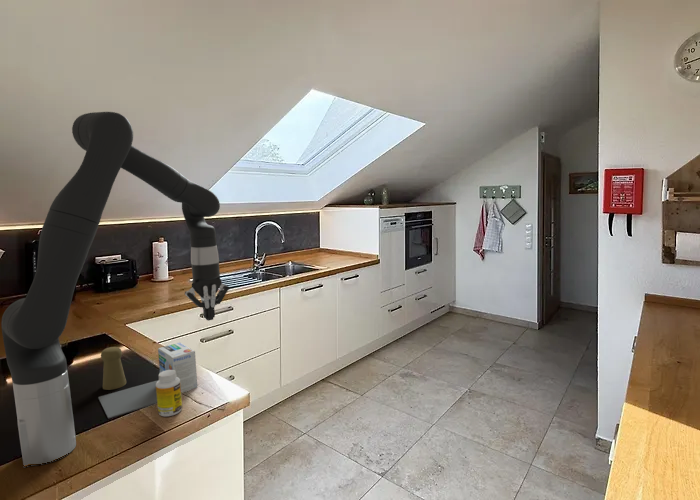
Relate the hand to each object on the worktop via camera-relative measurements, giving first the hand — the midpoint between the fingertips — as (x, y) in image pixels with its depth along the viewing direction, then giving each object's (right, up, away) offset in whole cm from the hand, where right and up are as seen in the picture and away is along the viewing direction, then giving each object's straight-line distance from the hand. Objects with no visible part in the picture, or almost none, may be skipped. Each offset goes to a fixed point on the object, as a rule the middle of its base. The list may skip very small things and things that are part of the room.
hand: (209, 319), depth 123 cm
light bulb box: (-7, -18, -4) cm, 20 cm away
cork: (-26, -19, -3) cm, 32 cm away
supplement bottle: (-4, -20, -19) cm, 28 cm away
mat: (-16, -19, -11) cm, 28 cm away
